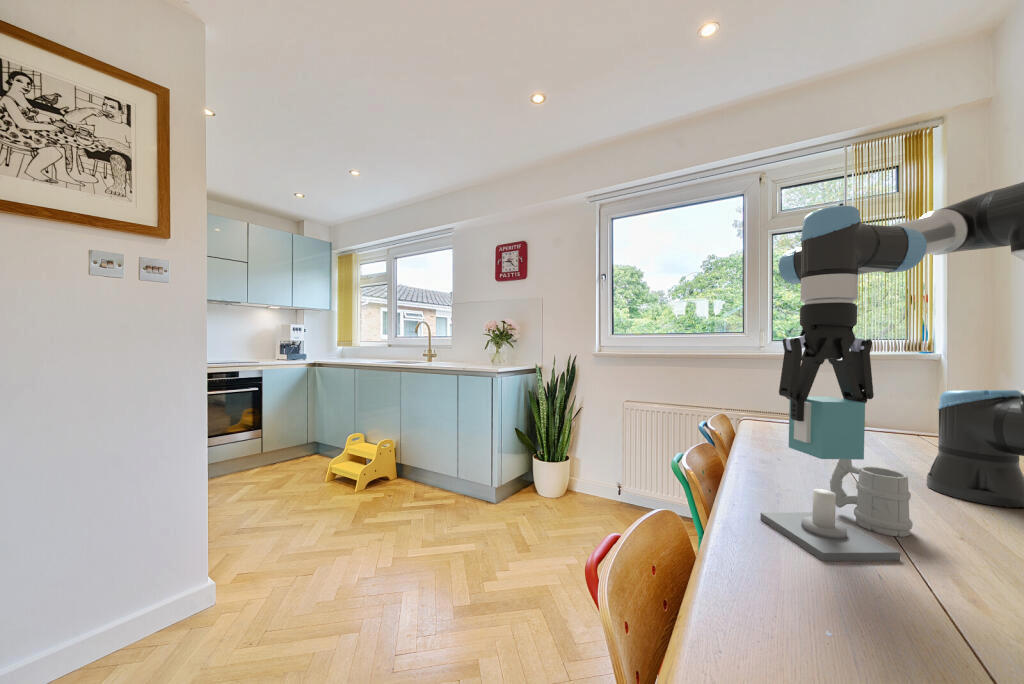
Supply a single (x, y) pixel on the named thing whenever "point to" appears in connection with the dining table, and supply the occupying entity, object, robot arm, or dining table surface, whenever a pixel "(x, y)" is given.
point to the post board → (829, 533)
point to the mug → (876, 498)
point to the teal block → (833, 429)
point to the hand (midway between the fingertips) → (824, 440)
